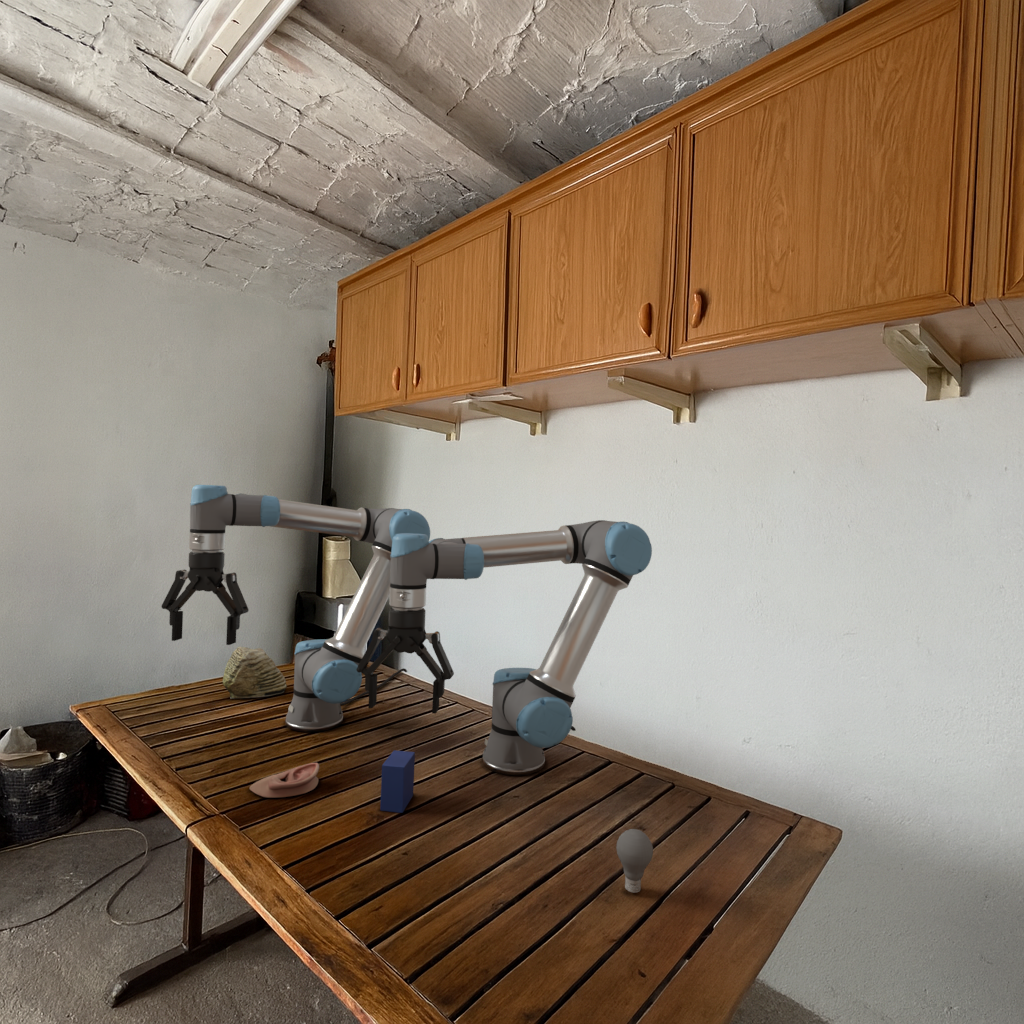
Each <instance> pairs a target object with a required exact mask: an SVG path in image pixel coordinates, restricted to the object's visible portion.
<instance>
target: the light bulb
mask: <svg viewBox="0 0 1024 1024" xmlns="http://www.w3.org/2000/svg"><path fill="white" fill-rule="evenodd" d="M615 849H616V854H617V857H618V859H619V861H620V863H621V865H622V867H623V873H624V874H623V875H624V876H625V878H624V888H625V890H627V891H628V892H630V893H634V894H635V893H639V892H640V891H641V889H642V887H641V886H642V879H643V877H644V875H645V871H646V868H647V867H648V866H649V864H650V863H651V861H652V859H653V855H654V847H653V843H652V841H651V838H649V836H648V835H647V834H646V833H645V832H643V831H642V830H641V829H636V828H629V829H627V830H625V831H623V832H622V833H621V834H620V835H619V837H618V839H617V841H616V847H615Z"/></svg>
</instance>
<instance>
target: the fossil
mask: <svg viewBox="0 0 1024 1024" xmlns="http://www.w3.org/2000/svg"><path fill="white" fill-rule="evenodd" d="M222 676H223V677H222V685H223V687H224V688H225V690H226V691H228V693H229V698H230V699H250V698H264V697H271V696H275V695H281V694H284V693H285V691H286V689H287V687H288V686H287V680H286V678H285V676H284V674H283V673H282V672H281V669H279V668H278V667H277V665H276V663H275V662H274V660H273V659H272V658H271V657H270V656H269V655H268V654H267V653H266V652H265V650H264V649H263V648H260V647H258V648H251V647H247V646H246V647H245V646H238V647H237V648H236V649H235V650H233V651H232V653H231V656H230V657H229V659H228V660H227V663H226V666H225V668H224V671H223V675H222Z"/></svg>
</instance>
